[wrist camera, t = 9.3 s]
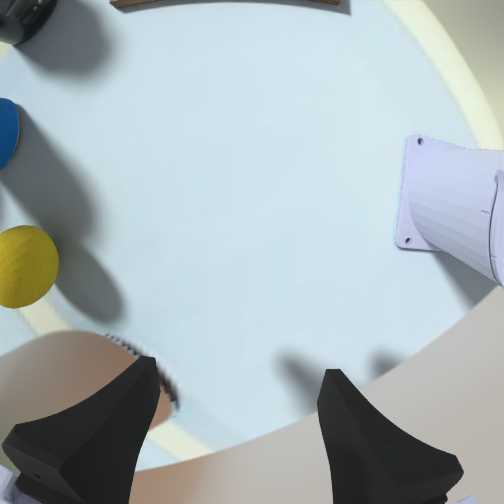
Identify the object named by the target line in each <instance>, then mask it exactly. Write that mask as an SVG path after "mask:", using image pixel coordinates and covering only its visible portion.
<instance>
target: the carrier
mask: <svg viewBox="0 0 504 504" xmlns="http://www.w3.org/2000/svg"><path fill="white" fill-rule="evenodd" d="M151 1H158V0H110V2H109V3H110V4H111V5H113V6H114V7H115V8H120V7H125V6H130V5H134V4H140V3H145V2H151ZM311 1H317V2H323V3H329V4H334V5H338V4H339V2H340V0H311Z"/></svg>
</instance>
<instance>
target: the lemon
mask: <svg viewBox="0 0 504 504" xmlns="http://www.w3.org/2000/svg"><path fill="white" fill-rule="evenodd" d="M58 269H59V256H58V252H57V248H56V246H55V244H54V242H53V240H52V239H51V238H50V236H49V235H48V234H47V233H45V232H44V231H43V230H41V229H39V228H37V227H34V226H28V225H22V226H17V227H14V228H11V229H8V230H6V231H4V232H3V233H1V234H0V305H2V306H4V307H7V308H13V309H14V308H21V307H25V306H28V305H30V304H33V303H35V302H36V301H38V300H39V299H40V298H41V297H43V296H44V295H45V294H46V293H47V292H48V291H49V290H50V288H51V287H52V285H53V283H54V282H55V280H56V277H57V273H58Z"/></svg>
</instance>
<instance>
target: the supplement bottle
mask: <svg viewBox="0 0 504 504" xmlns="http://www.w3.org/2000/svg"><path fill="white" fill-rule="evenodd" d="M56 1H57V0H0V42H3V43H7V44H12V45H14V44H19V43H22V42H24V41H25V40H27V39H29V38H30V37H31V36H32V35H34V34H35V33H36V32H37V31H38V30H39V29H40V28H41V27H42V25H43V24H44V23H45V22H46V20H47V19H48V17H49V16H50V14H51V13H52V11H53V9H54V7H55V4H56Z"/></svg>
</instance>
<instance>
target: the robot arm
mask: <svg viewBox="0 0 504 504" xmlns="http://www.w3.org/2000/svg"><path fill="white" fill-rule="evenodd" d="M418 139H420V140H421V144H420V145H419V144H418ZM407 238H409V242H408V243H405V241H406V239H407ZM395 244H396V245H397V246H398V247H401V248H412V249H423V250H435V251H446V252H447V253H449V254H451V255H452V256H454V257H456V258H457V259H459V260H461V261H462V262H464V263H466V264H467V265H469V266H471V267H472V268H474V269H475V270H477V271H479V272H480V273H482V274H483V275H485V276H486V277H488V278H489V279H491V280H492V281H494V282H495V283H497V284H498V285H500V286H501V287H503V288H504V151H501V150H486V149H466V148H463V147H460V146H457V145H454V144H451V143H448V142H445V141H441V140H438V139H435V138H431V137H427V136H424V135H420V134H416V133H410V134H408V135H407V137H406V150H405V163H404V174H403V184H402V192H401V200H400V208H399V215H398V221H397V228H396V234H395ZM160 392H161V391H160V385H159V379H158V373H157V367H156V360H155V358H153V357H147V356H141V357H140V358H139V359H137V360H136V361H135V362H134V363H133V364H132V365H130V366H129V367H128V368H127V369H126V370H125V371H124V372H122V373H121V374H120V375H119V376H117V377H116V378H115V379H114V380H112V381H111V382H110V383H109V384H108V385H106V386H105V387H103V388H102V389H100V390H99V391H98V392H96V393H95V394H93V395H92V396H90V397H89V398H87V399H85V400H84V401H82V402H80V403H78V404H76V405H74V406H72V407H70V408H68V409H66V410H63V411H61V412H59V413H57V414H54V415H51V416H48V417H45V418H42V419H38V420H35V421H31V422H26V423H21V424H16V425H15V426H14V427H13V429H12V430H11V431H10V433H9V434H8V436H7V437H6V439H5V441H4V442H3V443H2V448H3V450H4V452H5V454H6V455H7V456H8V457H9V459H10V460H11V461H12V462H13V463H14V465H15V466H16V467H17V468H18V469H19V470H20V472H21V474H20V476H19V477H18V476H17V475H16V474H14V473H13V472H12V471H10V470H8V469H7V468H5V467H4V466H2V465H1V464H0V504H128V503H129V497H130V491H131V486H132V481H133V475H134V471H135V467H136V463H137V459H138V455H139V452H140V449H141V447H142V444H143V442H144V439H145V437H146V434H147V432H148V429H149V427H150V424H151V422H152V419H153V417H154V414H155V411H156V408H157V404H158V400H159V396H160ZM317 406H318V416H319V422H320V427H321V431H322V436H323V439H324V444H325V448H326V452H327V456H328V460H329V464H330V471H331V480H332V491H333V504H445V502H447V500H448V498H447V496H446V493H447V492H448V491H449V490H450V489H451V488H452V487H453V486H454V485H455V484H457V482H458V481H459V480H460V479H461V477H462V476H463V473H464V471H463V469H462V467H461V465H460V463H459V461H458V459H457V457H456V456H455V455H453V454H450V453H447V452H444V451H441V450H439V449H436V448H434V447H431V446H430V445H428V444H425V443H423V442H422V441H420V440H418V439H416V438H414V437H413V436H411V435H409V434H408V433H406V432H405V431H403V430H402V429H400V428H398V427H397V426H396V425H394V424H393V423H392V422H391V421H390V420H388V419H387V418H386V417H385V416H383V415H382V414H381V413H380V412H379V411H378V410H377V409H376V408H375V407H374V406H373V405H372V404H370V403H369V401H368V400H367V399H366V398H365V397H364V396H363V395H362V394H361V393H360V392H359V391H358V389H357V388H356V387H355V386H354V385H353V384H352V382H351V381H350V380H349V379H348V378H347V377H346V375H345V374H344V373H343V372H342V371H341V370H340V369H326V372H325V376H324V379H323V383H322V387H321V390H320V394H319V397H318V401H317ZM454 504H478V503H477V501H476V499H475V497H474V495H471V496H469V497H467V498H465V499H463V500H460V501H458V502H456V503H454Z"/></svg>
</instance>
